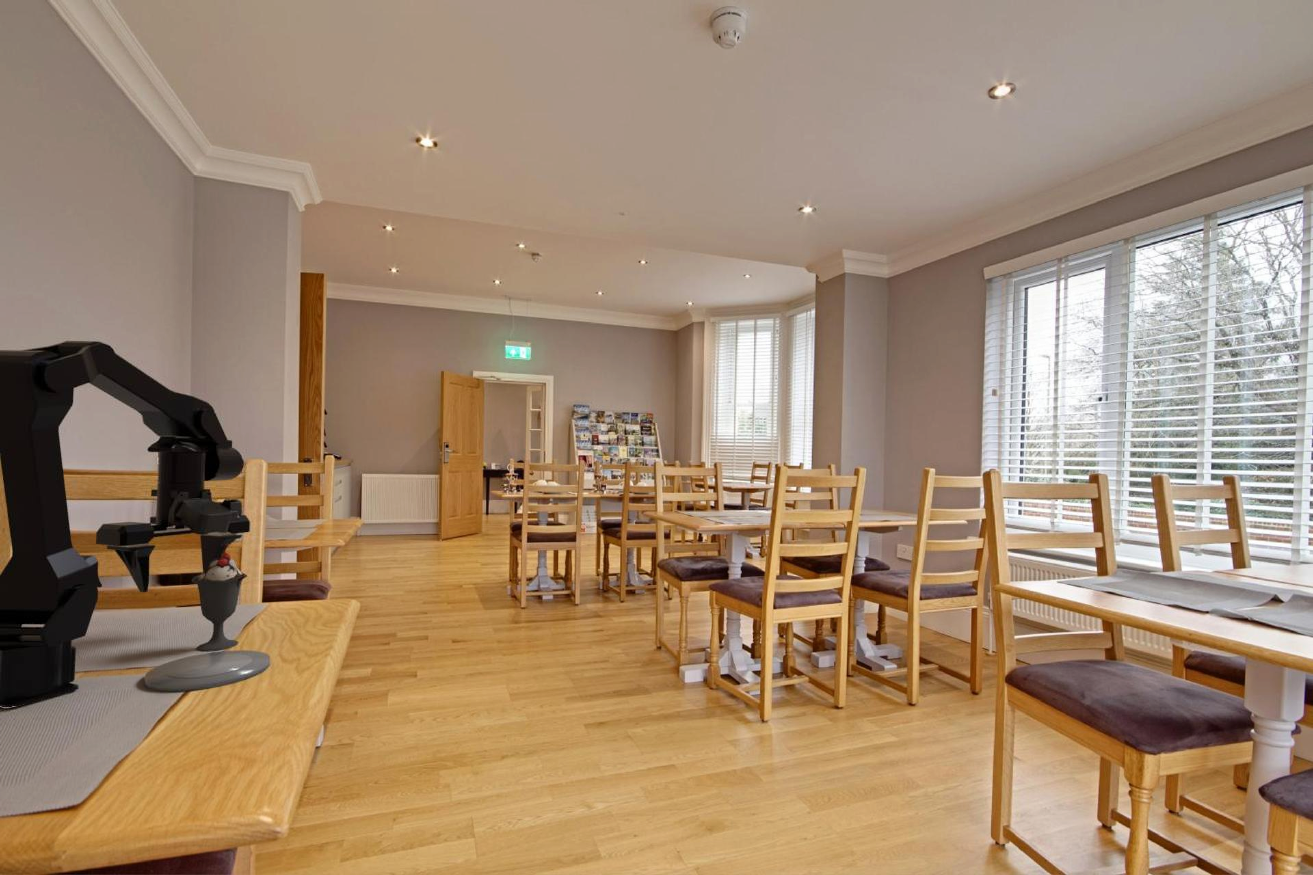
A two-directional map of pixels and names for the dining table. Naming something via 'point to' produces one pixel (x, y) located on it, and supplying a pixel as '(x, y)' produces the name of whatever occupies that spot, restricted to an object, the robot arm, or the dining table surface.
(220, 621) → the sundae
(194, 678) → the slate plate
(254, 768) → the dining table surface
